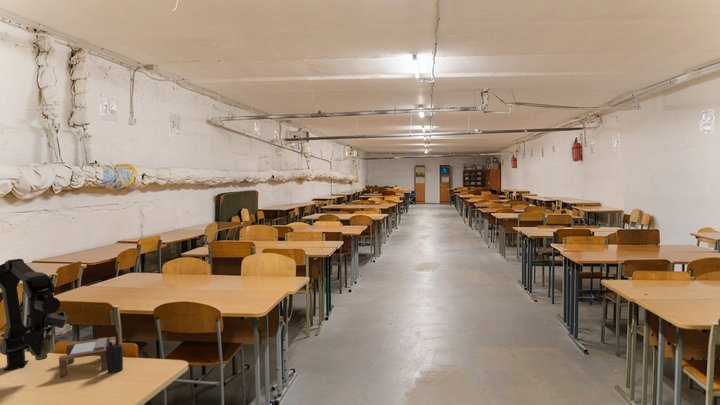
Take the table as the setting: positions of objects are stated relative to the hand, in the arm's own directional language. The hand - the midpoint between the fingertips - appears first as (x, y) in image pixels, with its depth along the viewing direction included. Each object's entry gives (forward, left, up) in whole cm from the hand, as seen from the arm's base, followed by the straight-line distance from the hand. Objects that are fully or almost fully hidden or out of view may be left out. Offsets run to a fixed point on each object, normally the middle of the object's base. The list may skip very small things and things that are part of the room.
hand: (40, 352), depth 161 cm
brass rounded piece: (0, 0, -3) cm, 3 cm away
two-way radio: (+6, +24, -10) cm, 27 cm away
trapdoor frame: (-5, +14, -10) cm, 18 cm away
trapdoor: (-5, +14, -4) cm, 16 cm away
